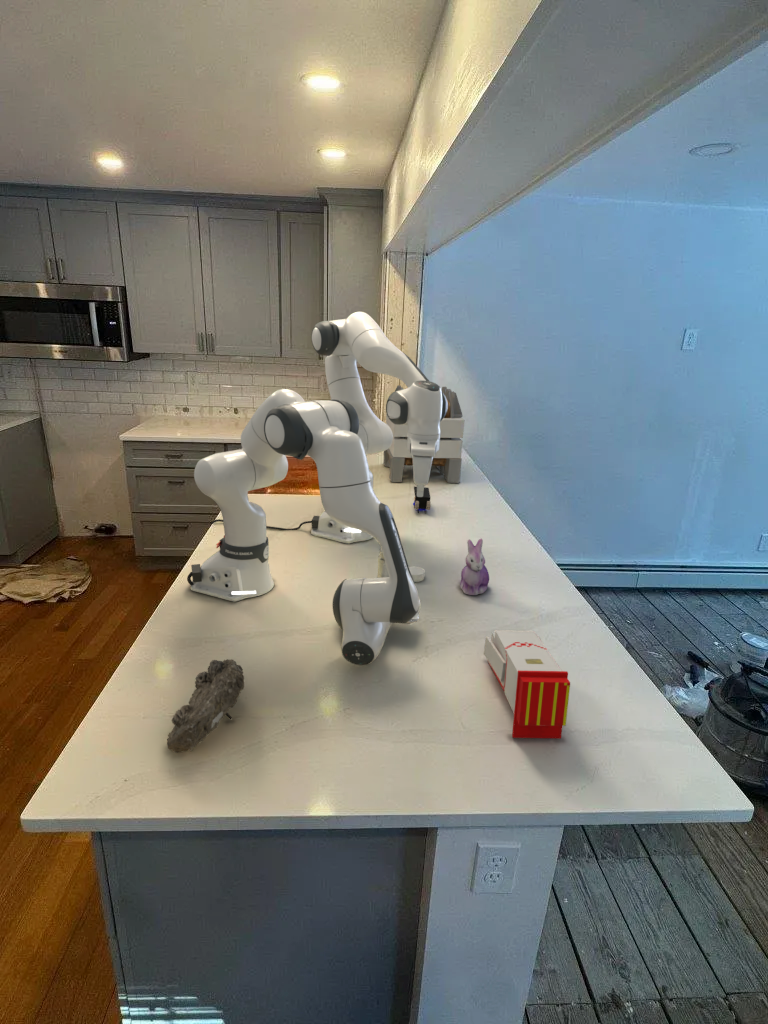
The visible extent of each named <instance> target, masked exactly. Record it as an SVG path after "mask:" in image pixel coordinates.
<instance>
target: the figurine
mask: <svg viewBox="0 0 768 1024" xmlns="http://www.w3.org/2000/svg"><path fill="white" fill-rule="evenodd" d="M483 544H484V539H483V538H480V539H478V541H477V542H476V544H474V543H473V541H472V540H471V539H467V555H466V557H465V566H463V568H462V570H461V573H460V583H459V588H460V589H461V590H462V593H463V594H465V595H470V596H477V595H479V594H480V595H481V594H484V593H485V592H486V591H487V590H488V586H489V583H490V574H489V571H488V568H487V566H486V565H485V564H486V559H485V555H484V553H483V550H482V549H483Z"/></svg>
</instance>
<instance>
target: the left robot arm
mask: <svg viewBox="0 0 768 1024" xmlns="http://www.w3.org/2000/svg"><path fill="white" fill-rule="evenodd" d="M358 431H359V418H358V414H357V412H356V410H355V409H354V407H353V406H352V405H351V404H349V403H348V402H345V401H341V400H335V399H332V400H331V399H326V400H325V399H314V400H307V401H306V400H305V399H304V398H303V396H301V394H299V393H298V392H297V391H295V390H292V389H288V388H281V389H280V388H279V389H277V390H275V391H274V392H272V393H271V394H270V395H269V396H267V398H266V399H264V401H263V402H261V404H260V405H259V406H258V408H257V409H256V410H255V411H254V413H253V415H252V416H251V418H250V419H249V420H248V422H247V424H246V425H245V427H244V428H243V430H242V432H241V434H240V446H241V448H239V449H233V450H227V451H222V452H221V451H220V452H215V453H214V454H211V455H207V456H206V457H203V458H201V459H199V460H198V461H197V463H196V465H195V466H194V471H193V478H194V482H195V485H196V487H197V489H198V490H199V491H200V492H201V493H202V494H203V495H205V496H207V497H208V498H210V499H211V500H212V501H214V502H215V504H216V505H217V506H218V508H219V510H220V513H221V516H222V520H223V522H222V523H223V531H224V535H223V537H222V538H221V539H219V542H217V543H216V544H215V546H216V547H215V548H216V549H218V548H219V550H218V551H216V552H215V553H214V554H212V555H210V556H209V557H207V558H206V559H205V560H204V561H203V563H202V564H200V563H198V564H197V563H195V564H191V565H190V566H191V571H190V572H189V573H188V575H187V577H186V581H187V583H188V584H189V585H190V590H191V591H193V592H195V593H196V592H197V593H200V594H204V595H208V596H211V597H214V598H219V599H221V600H222V599H223V600H226V601H229V602H240V601H242V600H244V599H250V598H255V597H259V596H262V595H265V594H266V593H269V592H270V591H271V590H273V588H274V586H275V582H274V579H273V576H272V572H271V568H270V562H269V557H270V546H269V543H270V542H269V537H268V535H267V528H266V526H267V514H266V512H265V510H264V509H263V507H262V506H261V505H259V504H257V503H255V502H253V501H250V499H249V492H250V491H254V490H259V489H263V488H269V487H271V486H274V485H275V484H278V483H279V482H281V481H283V480H285V478H286V477H287V474H288V471H289V461H288V458H287V456H288V457H292V458H295V459H296V460H301V461H302V460H304V459H305V457H306V456H308V457H310V458H311V459H312V460H313V461H314V463H315V466H316V472H317V480H318V486H319V487H318V489H319V495H320V500H321V501H320V502H321V504H322V508H323V511H325V512H326V513H327V514H328V515H329V516H330V517H331V518H332V519H333V520H335V521H336V522H338V523H340V524H342V525H344V526H347V527H351V528H354V529H357V530H360V531H363V532H365V533H367V534H369V535H371V536H373V538H374V539H375V540H376V542H377V543H378V545H379V546H380V549H381V550H382V553H383V556H384V560H385V563H386V566H387V570H388V573H389V577H385V578H377V577H358V578H356V577H355V578H345V579H344V580H342V581H341V583H340V584H338V586H337V588H336V590H335V591H334V594H333V598H332V613H333V618H334V620H335V622H336V624H337V625H338V627H339V628H340V630H341V631H342V639H341V645H340V646H341V647H340V648H341V649H340V650H341V655H342V656H343V658H344V659H345V660H346V661H347V662H349V663H350V664H353V665H356V666H365V665H366V666H367V665H370V664H372V663H373V662H374V661H375V660H376V659H377V658H378V656H379V655H380V653H381V651H382V649H383V647H384V645H385V642H386V640H387V639H386V638H387V636H388V633H389V632H390V628H391V625H392V624H401V625H403V624H404V625H411V624H413V623H417V622H418V621H419V618H420V612H421V606H422V602H421V601H422V600H420V596H419V591H418V589H417V586H416V582H414V580H413V578H412V575H411V573H410V570H409V567H410V566H409V563H408V560H407V556H406V554H405V550H404V547H403V543H402V540H401V536H400V532H399V531H398V527H397V523H396V521H395V518H394V516H393V513H392V511H391V509H390V507H389V506H388V505H387V504H385V503H384V502H382V501H381V500H380V499H379V498H378V496H377V495H376V492H375V491H374V487H373V488H372V484H371V477H370V471H371V470H370V466H369V460H368V457H367V455H366V453H365V450H364V446H363V443H362V441H361V439H360V437H359V436H358V435H357V434H358ZM369 470H370V471H369Z"/></svg>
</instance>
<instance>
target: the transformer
mask: <svg viewBox="0 0 768 1024" xmlns="http://www.w3.org/2000/svg"><path fill="white" fill-rule="evenodd" d="M403 389H404V388H403V387H402V385H399V384H398V385H397V386H396V388H395V390H394V392H396V391H400V390H403ZM441 391H442V392H443V393H444V395H445V397H446V399H447V402H448V409H447V413H446V415H445V417H444V418H443V419H442V420H441V422H440V425H439V426H440V444H439V450H438V451H437V452H436V454H435V456H434V457H433V460H432V465H431V467H436V468H437V470H438V469H439V473H440V474H441V475H443V478H444V479H445V481H446V482H447V483H449V484H455V483H456V484H459V483H461V472H462V461H463V460H462V453H463V442H464V441H463V440H462V439H463V438H464V431H465V430H464V429H465V419H464V418H463V411H462V408H461V405H460V402H459V398H458V395H457V392H455V391H453V390H452V389H451V388H447V386H442V387H441ZM385 414H386V413H385ZM385 423H386V424H387V425H388V426H389V427H390V429H391V431H392V435H393V440H392V444H391V446H390V448H389V449H387V450H385V451H383V466H384V467H388V468H389V475H388V476H389V477H388V478H389V480H390V482H391V483H402V482H403V475H404V469H405V466H406V467H407V466H411V467H413V459H412V455H411V453H410V451H409V449H407V437H408V425H397V424H394V423H392V422H391V421H390V420H389V418H388V416H387V414H386V415H385Z"/></svg>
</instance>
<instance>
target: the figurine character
mask: <svg viewBox="0 0 768 1024" xmlns="http://www.w3.org/2000/svg"><path fill="white" fill-rule="evenodd" d="M413 491H414V497H413V503H412V505H413V509H414V510H416V513H417V514H420V512H424V514H425V515H426V514H427V511H430V510H431V493H430V488H429V487H426V486H424V493H423V497H417V486H413Z"/></svg>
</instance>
